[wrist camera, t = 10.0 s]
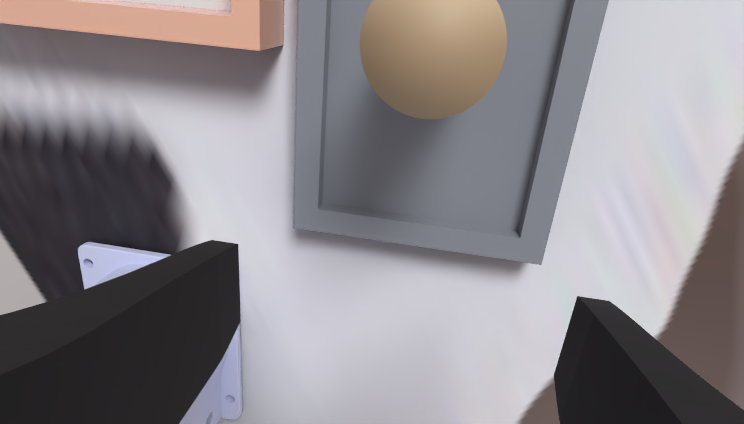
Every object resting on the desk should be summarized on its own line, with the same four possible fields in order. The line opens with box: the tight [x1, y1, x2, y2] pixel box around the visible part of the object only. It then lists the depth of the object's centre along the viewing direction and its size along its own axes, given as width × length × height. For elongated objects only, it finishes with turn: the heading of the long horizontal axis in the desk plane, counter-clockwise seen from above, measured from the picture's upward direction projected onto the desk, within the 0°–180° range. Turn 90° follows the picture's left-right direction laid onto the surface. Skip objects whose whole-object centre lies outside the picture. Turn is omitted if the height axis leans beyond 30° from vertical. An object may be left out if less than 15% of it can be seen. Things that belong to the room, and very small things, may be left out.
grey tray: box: [293, 0, 609, 265], centre depth 17 cm, size 16×10×2 cm, turn 175°
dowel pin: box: [360, 0, 507, 119], centre depth 14 cm, size 3×3×7 cm
